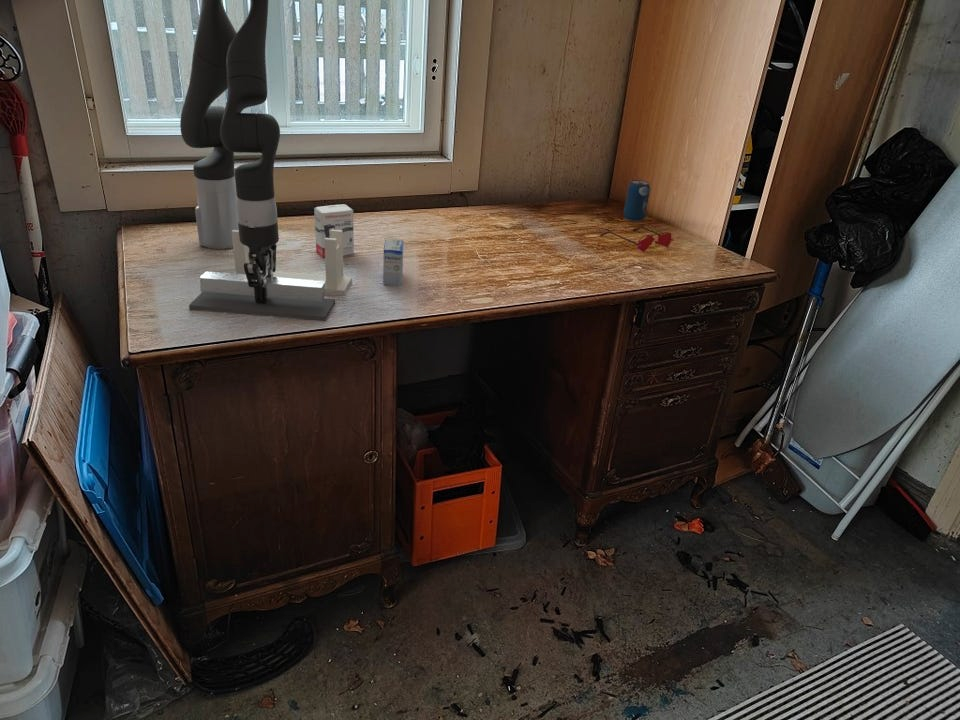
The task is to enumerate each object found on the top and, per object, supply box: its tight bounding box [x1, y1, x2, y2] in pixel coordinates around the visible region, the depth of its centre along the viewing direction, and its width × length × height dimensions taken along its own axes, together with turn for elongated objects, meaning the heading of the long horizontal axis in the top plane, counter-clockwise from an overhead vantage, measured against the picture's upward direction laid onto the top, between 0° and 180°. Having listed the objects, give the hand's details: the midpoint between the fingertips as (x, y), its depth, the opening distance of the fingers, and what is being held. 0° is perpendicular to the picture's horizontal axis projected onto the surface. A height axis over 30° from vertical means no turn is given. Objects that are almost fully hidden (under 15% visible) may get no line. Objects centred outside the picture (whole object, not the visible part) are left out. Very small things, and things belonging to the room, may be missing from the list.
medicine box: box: [382, 238, 404, 286], centre depth 161 cm, size 8×4×9 cm, turn 5°
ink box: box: [313, 203, 355, 259], centre depth 173 cm, size 8×5×12 cm, turn 123°
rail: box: [199, 271, 327, 301], centre depth 143 cm, size 25×4×3 cm, turn 88°
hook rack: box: [232, 229, 353, 296], centre depth 153 cm, size 26×8×12 cm, turn 88°
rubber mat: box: [188, 291, 336, 322], centre depth 144 cm, size 28×9×1 cm, turn 88°
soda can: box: [623, 179, 651, 223], centre depth 220 cm, size 7×7×12 cm
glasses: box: [599, 226, 675, 252], centre depth 202 cm, size 14×16×5 cm
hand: (264, 298), depth 144 cm, fingers closed on rail, 3 cm apart
